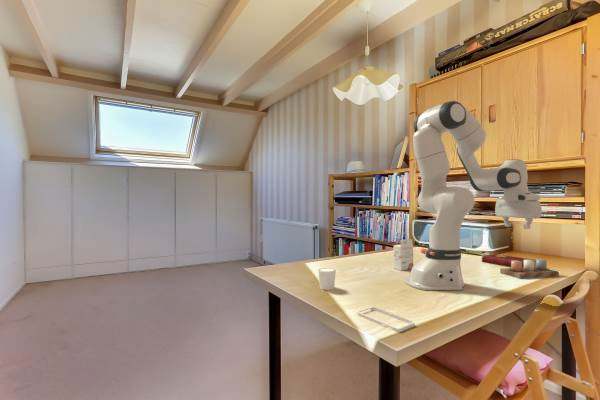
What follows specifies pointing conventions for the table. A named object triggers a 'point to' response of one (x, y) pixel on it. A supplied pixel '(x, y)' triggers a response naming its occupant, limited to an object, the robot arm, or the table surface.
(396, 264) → the ink cartridge box
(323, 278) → the shot glass
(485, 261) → the hardcover book
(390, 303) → the table surface
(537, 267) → the slate-grey button
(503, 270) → the button board
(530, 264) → the cream button
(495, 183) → the robot arm
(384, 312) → the beige elongated ring
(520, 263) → the terracotta button
